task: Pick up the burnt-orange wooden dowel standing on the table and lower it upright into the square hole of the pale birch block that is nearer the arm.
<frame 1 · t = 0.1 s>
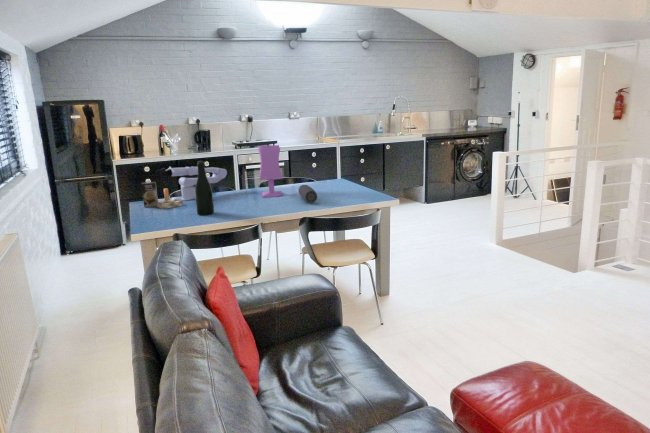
hand: (157, 173, 320), 22 cm above the table, tool horizontal, fingers open, 7 cm apart
coffee box: (151, 206, 321), on the table
bluetooth speaker: (307, 201, 318), on the table
dowel: (167, 202, 328), on the table
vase: (271, 195, 342), on the table
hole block: (170, 205, 318), on the table
beer bottle: (205, 213, 294), on the table
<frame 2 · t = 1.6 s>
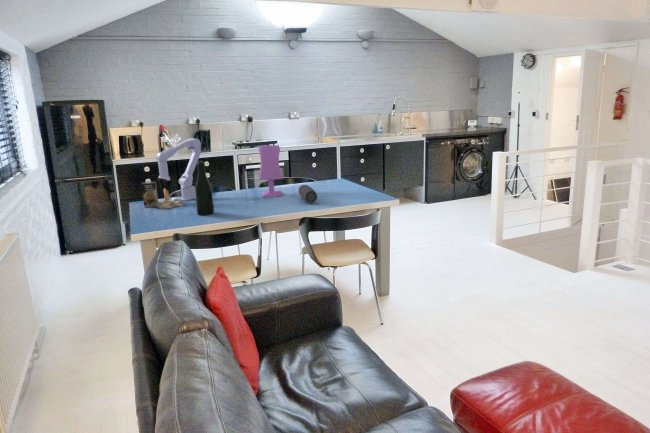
hand: (165, 189, 326), 9 cm above the table, tool pointing down, fingers open, 7 cm apart
nothing on the table moved.
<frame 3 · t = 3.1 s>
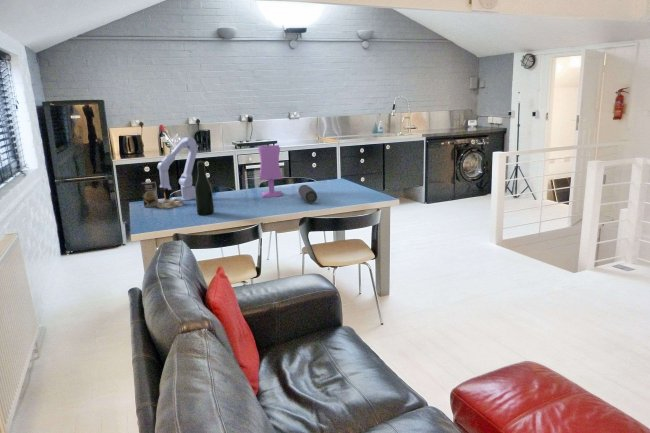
hand: (167, 198, 327), 3 cm above the table, tool pointing down, fingers closed on dowel, 3 cm apart
dowel: (167, 202, 328), on the table, touching gripper
everything else where it was.
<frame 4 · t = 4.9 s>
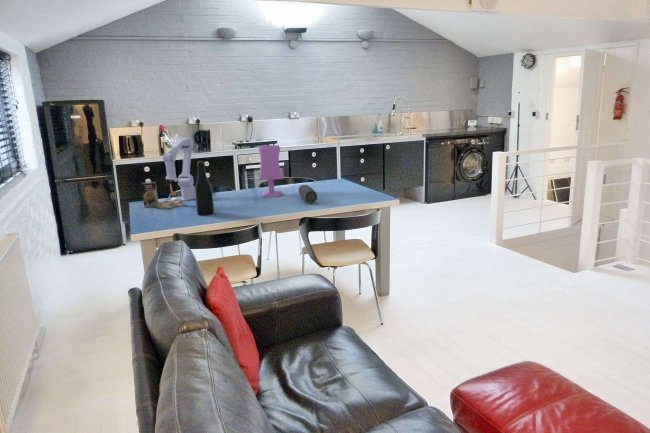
hand: (173, 190, 318), 10 cm above the table, tool pointing down, fingers closed on dowel, 3 cm apart
dowel: (173, 195, 319), point 7 cm above the table, touching gripper
everything else where it was.
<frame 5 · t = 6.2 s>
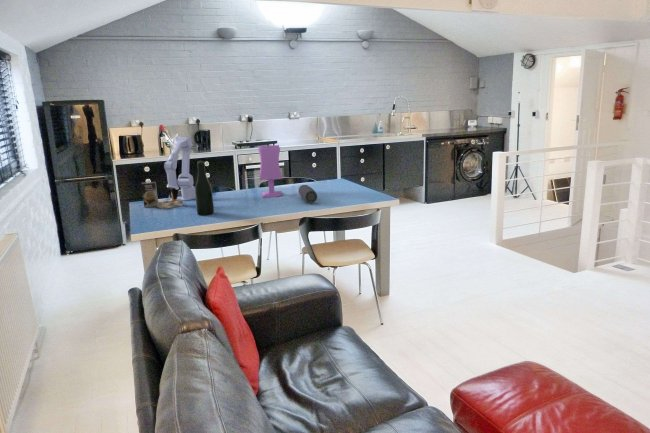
hand: (174, 198, 319), 4 cm above the table, tool pointing down, fingers closed on dowel, 3 cm apart
dowel: (174, 202, 320), point 2 cm above the table, touching gripper
everything else where it was.
when the fingers open (4 cm above the table, at t = 7.2 s): dowel drops 2 cm, resting in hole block.
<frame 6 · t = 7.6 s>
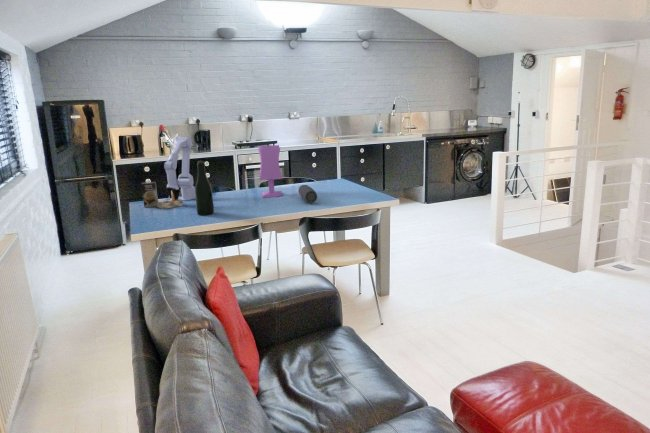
hand: (174, 198, 319), 4 cm above the table, tool pointing down, fingers open, 7 cm apart
dowel: (174, 205, 320), resting in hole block
everything else where it was.
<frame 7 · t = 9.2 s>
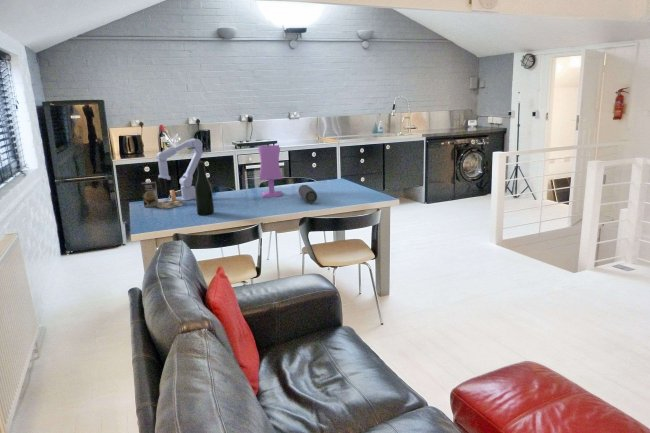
hand: (165, 188, 327), 10 cm above the table, tool pointing down, fingers open, 7 cm apart
dowel: (175, 204, 320), resting in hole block, tilted 17°
everything else where it was.
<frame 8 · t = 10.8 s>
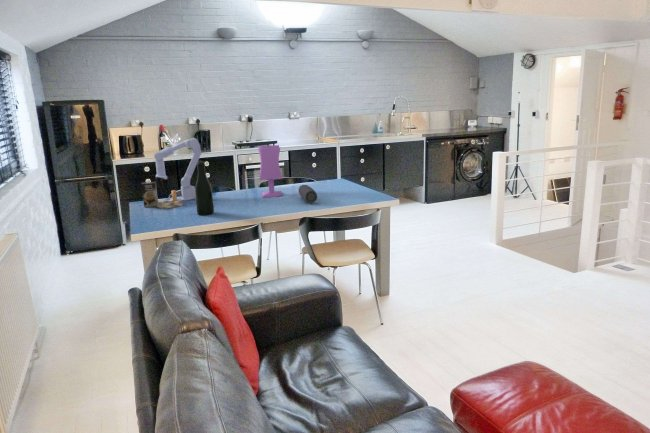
hand: (163, 188, 331), 9 cm above the table, tool pointing down, fingers open, 7 cm apart
dowel: (175, 205, 320), resting in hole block
everything else where it was.
at the end: dowel 0.7 cm from the target spot on the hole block, point 0.0 cm above the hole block's base; dowel tilted 0°; the gripper is holding nothing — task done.
